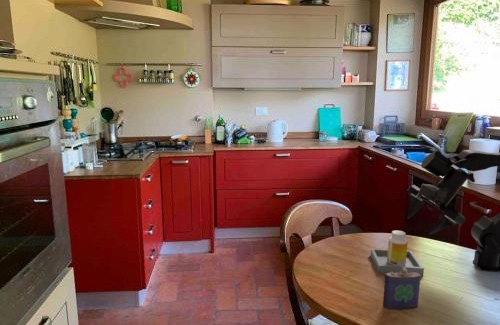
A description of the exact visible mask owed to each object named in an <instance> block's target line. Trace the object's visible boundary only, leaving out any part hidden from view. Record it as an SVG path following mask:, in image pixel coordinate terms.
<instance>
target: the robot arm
mask: <svg viewBox="0 0 500 325" xmlns="http://www.w3.org/2000/svg"><path fill="white" fill-rule="evenodd" d="M420 166H421V168H422V169H424V170H425V171H427V172H428V173H429V174H431V175H433V176H434V177H435V178H440V177H442V178H441V179H440V180H439V181H436V182H434V183H433V184H428V183H426V184H425V183H422V184H421V186H420V188H419V187H418V186H416V185H415V184H412V185H410V186H409V187H408V189H407V192H409V193H408V196H410V206H409V209H408V212H407V215H406V218H407V219H408V220H410V219H411V218H412V217H414V215H416V213H417V212H418V211H419V210H420V209H421V208H422V207H423V206H424V205H425V203H424V201H425V202H426V203H428V204H430V205H432V206H433V207H434V208H436V209H437V210H439V211H441V212H442V213H439V217H438V220H437V221H436V222H435V224H434V225H433V226H432V227H431V228H430V230H429V232H428V235H430V236H431V235H433V234H436V233H437V232H439V231H441V230H443V229H446V228H448V227H451V226H453V225H454V226H457V225H459V226H462V225H463V224H464V223H465V221H466V217H465V216H464V215H463V214H462V213H460V212H459V211H458V210H456V209H454V208H452V207H451V206H450V204H449V203H450V202H451V201H452V199H454V198H457V197H458V194H457V193H458V192H459V191H460V189H461V188H462V187H463V185H464V184H465V183H466V181H468V182H470V183H475V182H476V180H475V176H474V175H475V174H474V173H473V172H478V171H479V172H480V171H483V170H484V171H485V170H488V169H491V168H493V167H500V152H486V151H480V150H473V149H463V150H461V151H460V152H459V153H458V154H456V155H453V156H449V157H447V156H445V155H444V154H443V153H442V152H440V151H439V150H437V149H434V151H432V152H431V153H429V154H428V155H427V156H425V157H424V159H423V160H422V162H421V164H420ZM455 167H457V168H455ZM464 169H465V170H467V171H469V172H467V171H465V170H464ZM443 214H444V215H443ZM470 230H471V231H470V233H471V236H472V237H473V239H475V242H476V243H477V244H478V245H477V246H476V247H477V248H476V250H475V251H474V255H473V256H474V257H473V260H472V263H473V264H474V265H475V266H476V267H477V268H479V269H480V271H483V272H484V271H486V272H500V212H498V213H497V214H496V215H495V216H491V217H488V216H486V215H483V216H481V217H480V218H479V220H477V221H475V222H473V226H472V227H471V229H470Z"/></svg>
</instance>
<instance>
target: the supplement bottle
mask: <svg viewBox="0 0 500 325" xmlns="http://www.w3.org/2000/svg"><path fill="white" fill-rule="evenodd" d="M406 234H407V233H406V232H404V230H403V231H402V230H392V231H391V236H390V237H388V244H387V249H388V255H387V261H388V263H389V264H391V265H394V266H404V265H405V264H406V255H407V251H408V241H409V240H408V239H407V238H406V237H407V236H406Z"/></svg>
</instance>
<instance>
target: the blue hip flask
mask: <svg viewBox="0 0 500 325" xmlns="http://www.w3.org/2000/svg"><path fill="white" fill-rule="evenodd" d="M402 268H403V270H402V271H400V272H399V273H397V272H395V273H393V272H390V273H386V274H384V286H383V288H384V289H383V301H382V307H383V309H385V310H391V311H402V310H404V311H405V310H415V309H417V308H418V306H419V297H420V289H421V288H420V287H421V279H422V276H421V275H420V274H419V273H416V272H412V273H407V269H406V268H404V267H402Z"/></svg>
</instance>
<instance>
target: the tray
mask: <svg viewBox="0 0 500 325" xmlns="http://www.w3.org/2000/svg"><path fill="white" fill-rule="evenodd" d="M387 255H388V248H387V249H384V248H370V258H371V260H372V262H373V264H374V266H375V269H376V271H377V273H378V274H381V275H383V274H384V275H385V274H386V273H390V272H393V273H395V272H397V273H399V272H400V271H402V270H403V268H402V267H404V268H406V269H407V273H412V272H416V273H419V274H420V275H421V277H424V274H425V273H424V271H425V268H424V267H423V265H422V264H421V262H420V261H419V260H418V258H417V256H416V255H415V254H414V253H413V251H412V250H407V255H406V264H405V265H404V266H394V265H391V264H389V263H388V261H387Z"/></svg>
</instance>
